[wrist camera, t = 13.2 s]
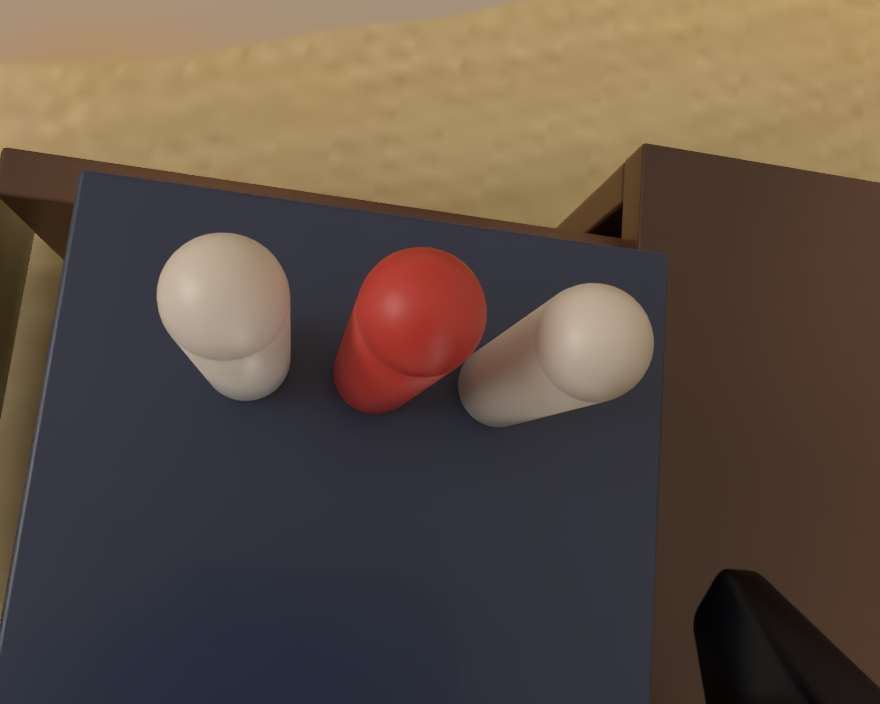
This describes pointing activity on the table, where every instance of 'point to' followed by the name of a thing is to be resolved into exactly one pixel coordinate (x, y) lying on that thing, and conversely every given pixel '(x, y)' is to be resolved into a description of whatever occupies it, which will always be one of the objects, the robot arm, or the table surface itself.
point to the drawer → (55, 178)
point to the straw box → (336, 461)
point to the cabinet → (760, 390)
